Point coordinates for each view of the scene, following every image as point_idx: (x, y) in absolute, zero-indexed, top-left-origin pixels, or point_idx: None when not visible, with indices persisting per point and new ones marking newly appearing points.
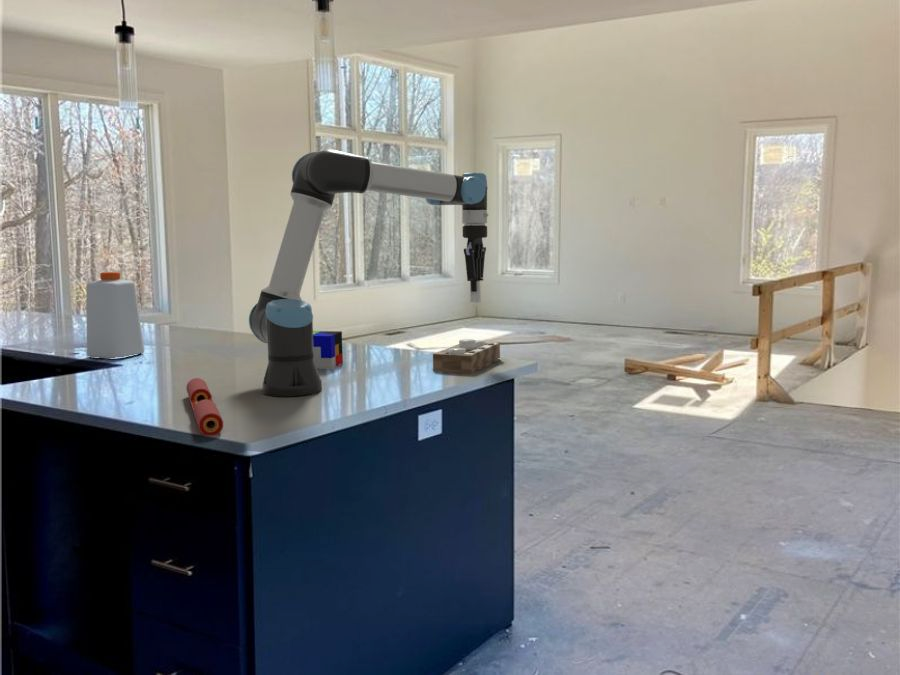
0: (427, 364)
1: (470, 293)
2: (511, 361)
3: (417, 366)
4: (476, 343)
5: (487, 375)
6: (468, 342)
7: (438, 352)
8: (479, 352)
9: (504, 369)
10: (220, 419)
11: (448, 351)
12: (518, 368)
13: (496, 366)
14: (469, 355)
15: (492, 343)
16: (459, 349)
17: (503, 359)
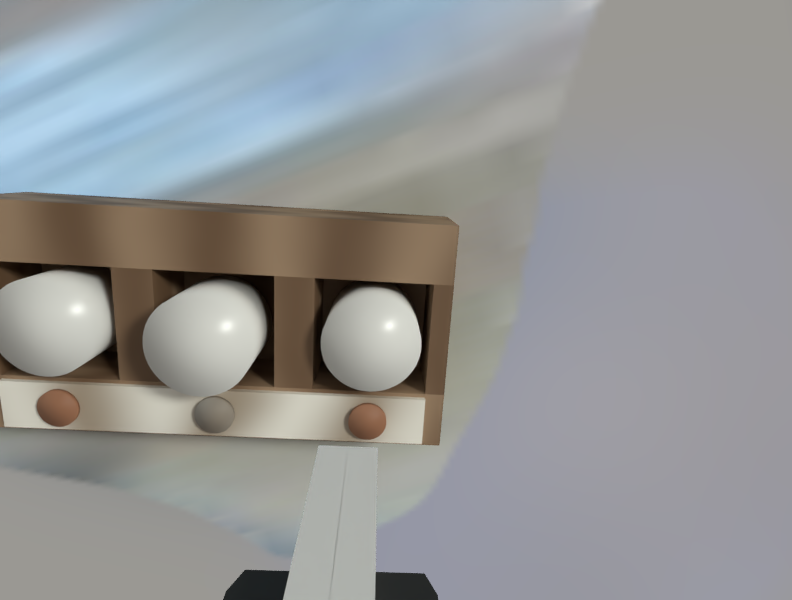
0: (186, 88)
1: (302, 518)
2: (400, 463)
3: (108, 54)
4: (323, 354)
5: (38, 463)
6: (153, 367)
7: (17, 211)
8: (116, 431)
9: (198, 488)
10: None
11: (76, 257)
12: (241, 532)
13: (255, 438)
14: (1, 413)
15: (373, 430)
16: (37, 345)
17: (444, 416)
